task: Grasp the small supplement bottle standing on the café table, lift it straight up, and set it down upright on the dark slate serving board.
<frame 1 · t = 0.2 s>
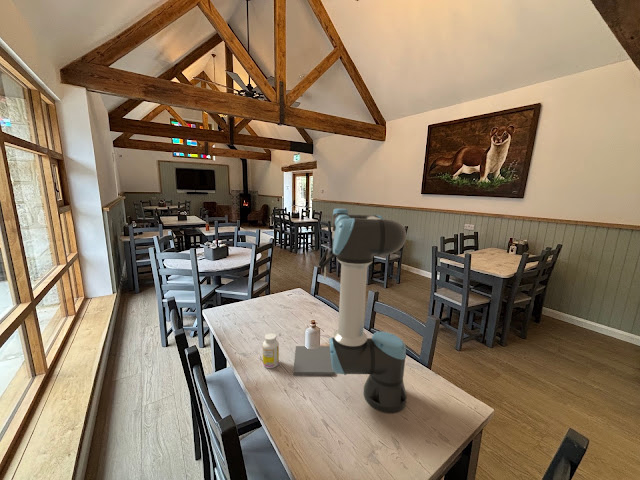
hand: (337, 278, 140), 28 cm above the table, fingers open, 13 cm apart
slate board: (313, 361, 116), on the table
supplement bottle: (270, 364, 113), on the table
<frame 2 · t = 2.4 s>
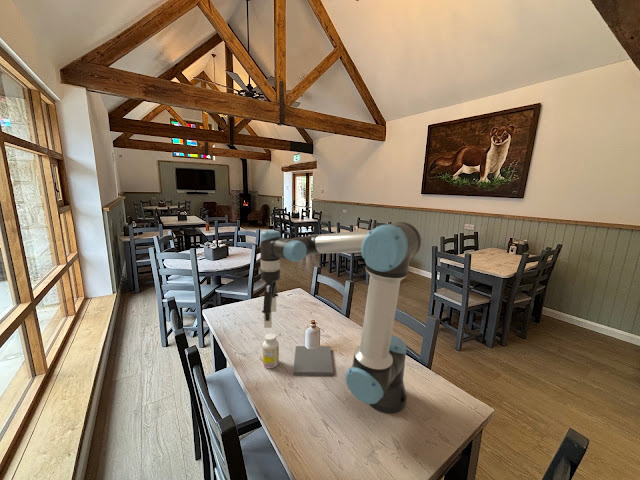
hand: (270, 319, 110), 21 cm above the table, fingers open, 13 cm apart
nothing on the table moved.
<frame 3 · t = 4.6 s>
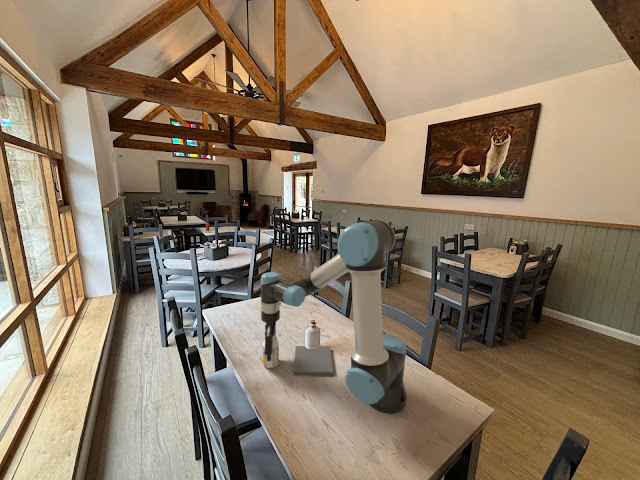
hand: (270, 360, 113), 2 cm above the table, fingers closed on supplement bottle, 7 cm apart
supplement bottle: (270, 364, 113), on the table, touching gripper
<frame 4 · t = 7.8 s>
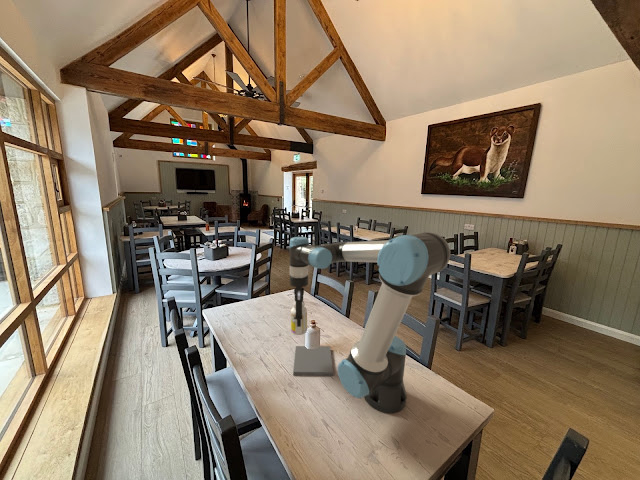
hand: (299, 328, 111), 16 cm above the table, fingers closed on supplement bottle, 7 cm apart
supplement bottle: (298, 332, 112), point 15 cm above the table, touching gripper
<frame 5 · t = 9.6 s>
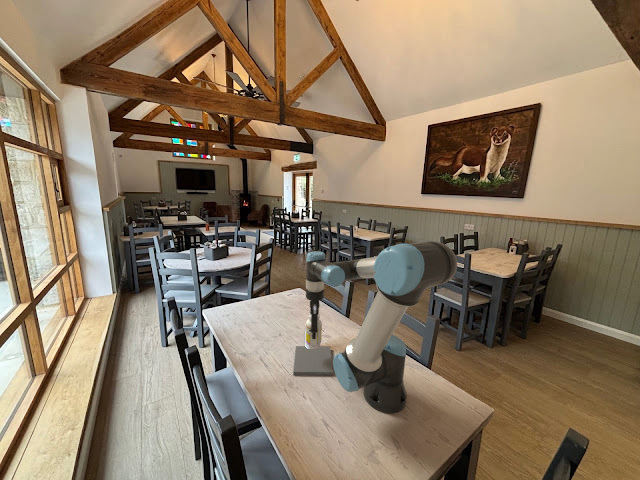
hand: (313, 339, 114), 10 cm above the table, fingers closed on supplement bottle, 7 cm apart
supplement bottle: (313, 343, 115), point 9 cm above the table, touching gripper
when the fingers open (4 cm above the table, at t = 11.0 s): supplement bottle drops 1 cm, resting on slate board.
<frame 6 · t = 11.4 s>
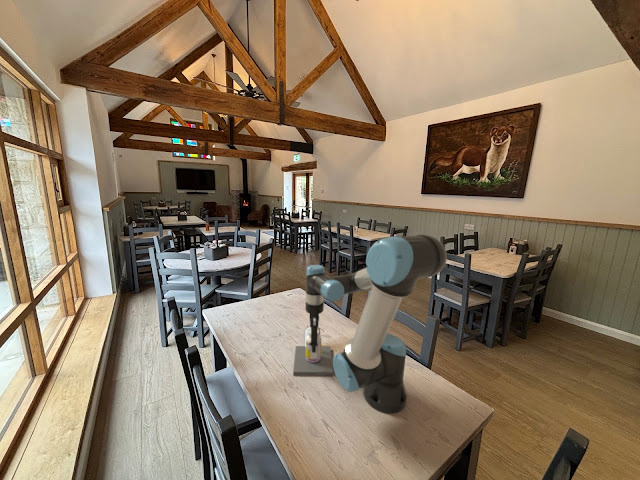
hand: (313, 348, 115), 6 cm above the table, fingers open, 12 cm apart
supplement bottle: (313, 358, 116), point 1 cm above the table, touching slate board
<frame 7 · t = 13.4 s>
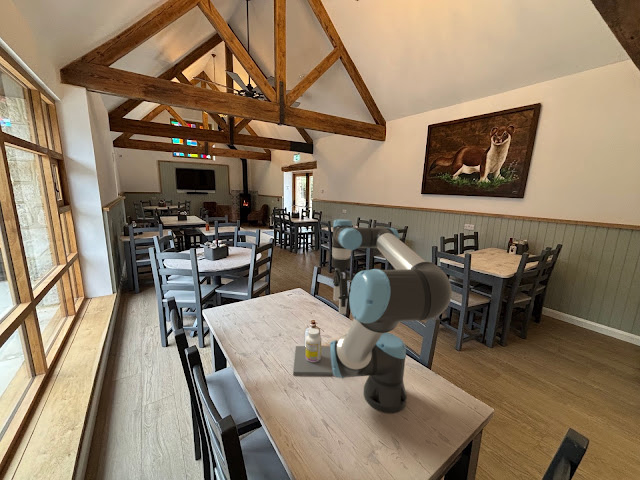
hand: (339, 306, 112), 25 cm above the table, fingers open, 13 cm apart
nothing on the table moved.
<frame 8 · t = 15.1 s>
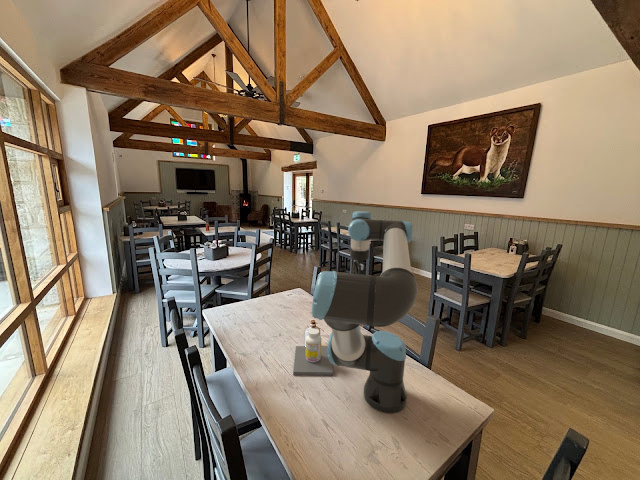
hand: (357, 297, 113), 29 cm above the table, fingers open, 13 cm apart
nothing on the table moved.
at the end: supplement bottle inside the target area on the slate board (0.2 cm from its centre), point 1.3 cm above the slate board's base; supplement bottle tilted 0°; the gripper is holding nothing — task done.
